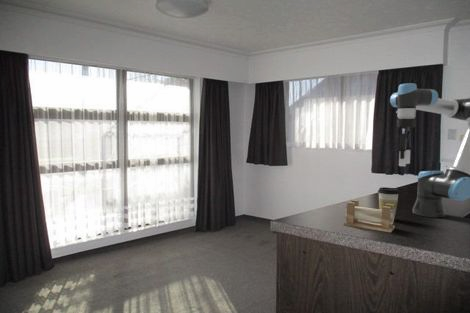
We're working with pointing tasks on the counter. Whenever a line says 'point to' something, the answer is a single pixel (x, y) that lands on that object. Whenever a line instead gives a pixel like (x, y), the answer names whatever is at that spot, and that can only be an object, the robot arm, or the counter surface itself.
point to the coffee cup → (388, 197)
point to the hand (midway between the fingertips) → (404, 164)
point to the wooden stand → (383, 226)
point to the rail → (370, 214)
